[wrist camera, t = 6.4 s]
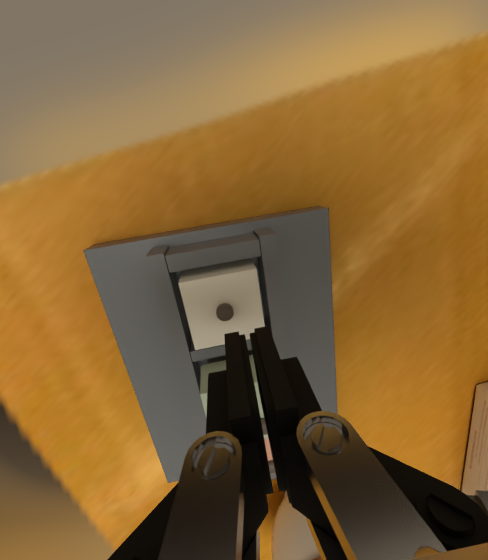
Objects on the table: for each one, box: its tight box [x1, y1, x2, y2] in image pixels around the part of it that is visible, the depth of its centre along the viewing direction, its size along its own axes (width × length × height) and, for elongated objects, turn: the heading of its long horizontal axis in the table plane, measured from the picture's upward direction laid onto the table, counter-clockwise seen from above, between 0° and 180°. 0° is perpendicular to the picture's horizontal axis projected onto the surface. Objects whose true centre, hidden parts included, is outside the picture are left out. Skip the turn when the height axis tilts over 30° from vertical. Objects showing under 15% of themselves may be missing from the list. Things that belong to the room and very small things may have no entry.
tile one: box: [178, 258, 265, 350], centre depth 16 cm, size 4×4×3 cm
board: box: [83, 206, 337, 483], centre depth 19 cm, size 14×19×4 cm
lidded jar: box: [272, 491, 322, 560], centre depth 23 cm, size 11×11×9 cm
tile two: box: [200, 355, 268, 439], centre depth 16 cm, size 4×4×3 cm
